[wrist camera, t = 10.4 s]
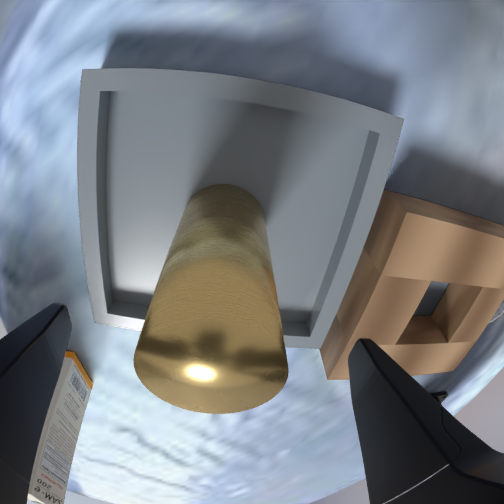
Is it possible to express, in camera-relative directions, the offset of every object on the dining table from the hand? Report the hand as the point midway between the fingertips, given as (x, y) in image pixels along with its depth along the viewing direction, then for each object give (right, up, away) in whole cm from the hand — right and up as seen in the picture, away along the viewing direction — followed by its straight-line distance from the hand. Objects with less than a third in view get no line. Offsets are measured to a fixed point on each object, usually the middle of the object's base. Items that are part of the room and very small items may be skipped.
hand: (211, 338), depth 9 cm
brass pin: (0, +4, +7) cm, 8 cm away
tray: (0, +4, +7) cm, 8 cm away
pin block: (+13, 0, +11) cm, 17 cm away
